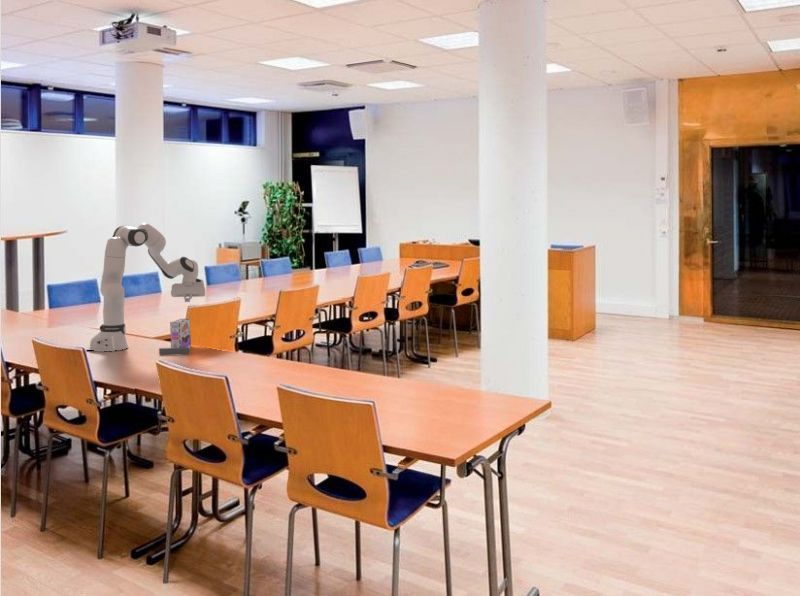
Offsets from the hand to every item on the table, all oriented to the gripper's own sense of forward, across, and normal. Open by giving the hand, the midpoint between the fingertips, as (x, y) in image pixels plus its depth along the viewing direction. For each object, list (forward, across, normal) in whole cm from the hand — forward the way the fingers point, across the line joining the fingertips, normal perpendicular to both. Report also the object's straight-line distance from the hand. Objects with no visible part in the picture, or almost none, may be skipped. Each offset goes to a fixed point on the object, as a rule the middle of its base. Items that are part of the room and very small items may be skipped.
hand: (187, 301), depth 446 cm
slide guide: (+40, 0, -6) cm, 40 cm away
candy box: (+34, 0, 0) cm, 34 cm away
